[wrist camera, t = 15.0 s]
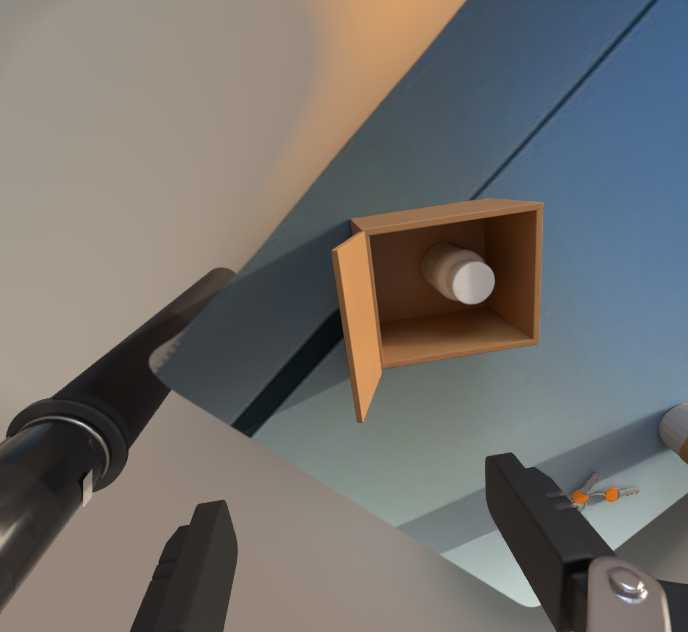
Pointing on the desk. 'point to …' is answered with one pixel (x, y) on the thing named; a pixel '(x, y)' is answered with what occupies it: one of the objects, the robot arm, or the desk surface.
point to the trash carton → (434, 308)
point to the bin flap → (357, 319)
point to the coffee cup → (676, 430)
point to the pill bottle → (457, 273)
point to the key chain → (610, 495)
